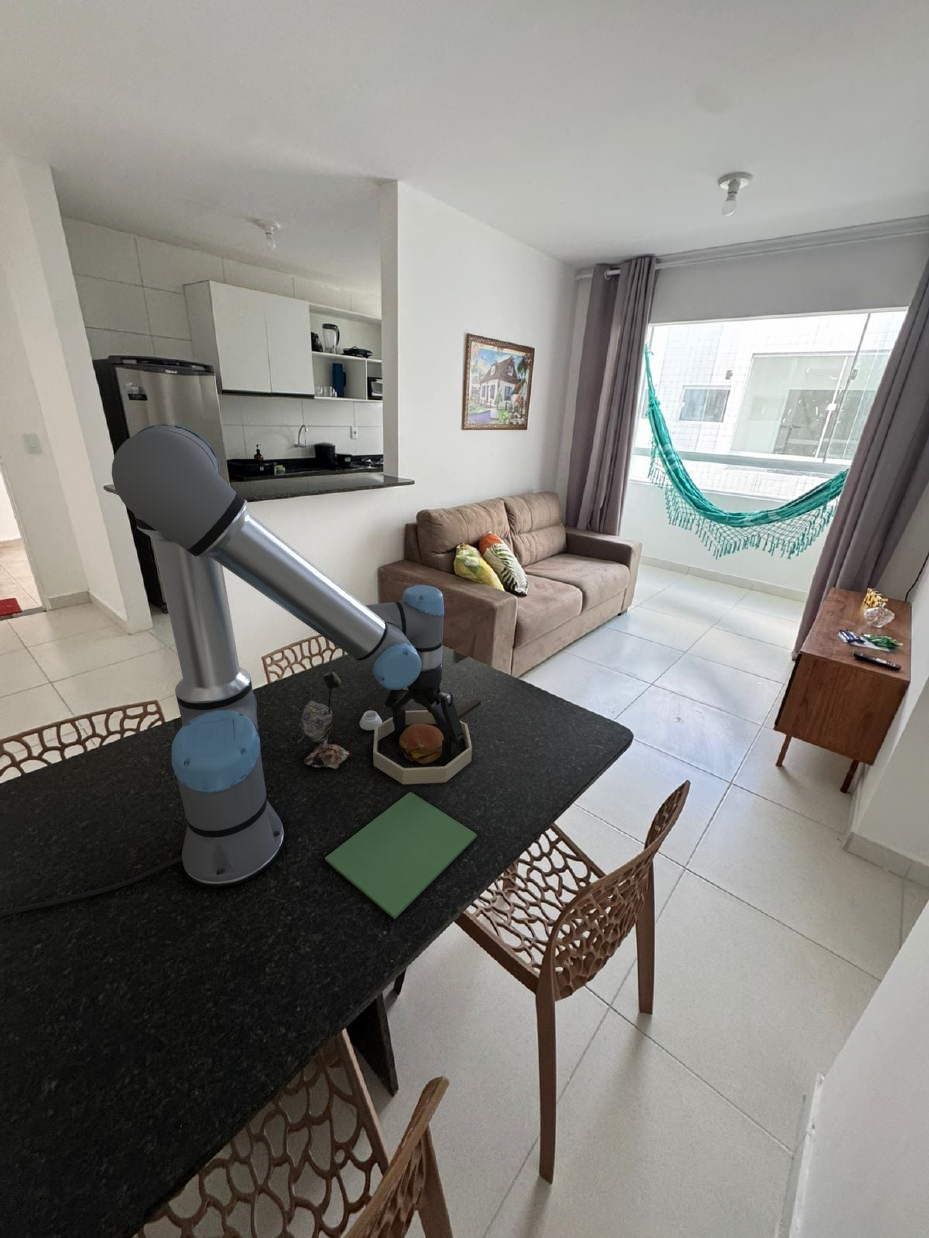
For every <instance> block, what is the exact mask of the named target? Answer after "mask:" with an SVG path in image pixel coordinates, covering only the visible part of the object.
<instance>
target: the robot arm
mask: <svg viewBox="0 0 929 1238" xmlns="http://www.w3.org/2000/svg"><path fill="white" fill-rule="evenodd" d="M111 478H112V483H113V486H114V487H113V488H114V490H115V492H116V493H117V495H118V497H119V498H120V500H121V502H122V503H123V505H125V507H127V509H128V510H129V511H130V512H132V513H133V514H134V519H135V523H136V528H137V529H138V530H139V531H141V532H142V533H144V534H145V535H147V536H149V537H150V538H151V539H152V543H153V548H154V549H153V550H154V553H155V558H156V562H157V566H158V572H159V575H160V581H161V584H162V589H163V593H164V598H165V603H166V607H167V612H168V616H169V622H170V625H171V630H172V635H173V639H174V643H175V649H176V652H177V658H178V663H179V667H180V671H181V674H182V678H181V679H180V680H179V681H178V682H177V684H176V685H175V687H174V693H175V697H176V701H177V706H178V709H179V716H180V719H181V728H180V729H179V730H178V731H177V733H176V734H175V736H174V738H173V740H172V744H171V766H172V769H173V772H174V774H175V777H176V781H177V786H178V790H179V793H180V797H181V802H182V806H183V811H184V814H185V819H186V822H187V826H186V831H185V835H184V841H183V845H182V850H181V855H180V856H177V857H175V858H172V859H170V860H168V861H166V862H164V863H161V864H159V865H157V866H155V867H152V868H151V869H148V870H146V871H145V872H142V873H141V874H138V875H135V876H133V877H130V878H128V879H125V880H123V881H119V882H116V883H113V884H111V885H107V886H104V887H100V888H96V889H92V890H88V891H84V892H81V893H76V894H73V895H68V896H65V897H60V898H59V897H58V898H56V899H51V900H46V901H40V902H36V903H31V904H26V905H22V906H16V907H13V908H9V909H5V910H1V911H0V918H5V917H8V916H12V915H15V914H20V913H24V912H28V911H29V912H30V911H33V910H39V909H44V908H49V907H53V906H59V905H63V904H66V903H70V902H75V901H78V900H83V899H87V898H91V897H94V896H98V895H101V894H105V893H108V892H111V891H114V890H115V891H116V890H117V889H118V890H119V889H121V888H124V887H127V886H130V885H132V884H135V883H137V882H139V881H142V880H144V879H146V878H148V877H150V876H152V875H154V874H156V873H158V872H161V871H163V870H165V869H168V868H169V867H171V866H174V865H176V864H178V863H181V862H182V866H183V870H184V874H185V875H186V876H187V878H188V879H189V880H190V881H191V882H192V883H194V884H196V885H197V886H200V887H202V888H206V889H226V888H232V887H236V886H239V885H242V884H244V883H247V882H249V881H252V880H254V879H255V878H256V877H258V876H259V875H261V874H262V873H264V872H265V871H266V870H268V869H269V868H270V867H271V866H272V865H273V864H274V862H275V861H276V860H277V858H279V856H280V854H281V852H282V849H283V846H284V842H285V832H284V826H283V823H282V820H281V818H280V817H279V815H278V813H277V812H276V811H275V809H274V807H273V806H272V805H271V803H270V801H269V800H268V796H267V789H266V782H265V776H264V769H263V762H262V755H261V754H262V753H261V740H260V739H261V738H260V734H259V733H260V732H259V726H258V725H259V724H258V716H257V712H258V703H257V698H256V695H255V694H254V688H253V683H252V677H251V674H250V673H249V671H248V670H247V669H245V668H243V667H241V666H240V663H239V657H238V651H237V646H236V645H237V644H236V639H235V634H234V627H233V622H232V615H231V610H230V603H229V597H228V591H227V585H226V580H225V579H226V578H225V574H224V568H225V569H226V570H228V571H229V572H231V573H232V574H234V576H237V577H238V578H240V579H241V580H242V581H243V582H245V583H246V584H248V585H249V586H251V587H252V588H254V589H255V590H256V591H257V592H259V593H260V594H262V595H264V597H267V598H268V599H269V600H270V601H272V602H273V603H275V604H276V605H278V606H279V607H281V608H282V609H283V610H284V611H286V612H288V614H291V616H293V617H295V619H297V620H299V621H300V622H302V623H303V624H305V625H306V626H307V627H310V628H311V629H312V630H313V631H315V632H316V633H318V634H319V635H320V636H322V637H323V638H325V639H326V640H328V641H329V642H331V644H333V645H335V646H336V647H337V648H339V649H340V650H342V651H343V652H344V653H346V654H347V655H349V656H350V657H352V658H353V659H355V660H356V661H357V662H358V663H359V664H361V665H362V666H364V667H366V668H367V669H368V670H369V671H371V672H372V675H373V678H374V679H375V680H376V681H377V682H378V684H380V685H381V686H382V687H383V688H385V689H387V690H390V692H389V694H388V696H387V698H386V699H385V702H384V706H385V707H386V708H389V709H390V711H391V713H392V715H391V717H393V723H394V731H393V732H394V733H393V734H394V740H395V741H399V739H400V736H401V734H402V733H403V732H404V730H405V729H406V728H407V725H406V721H405V711H406V709H404V707H406V705H407V704H409V703H410V702H411V701H412V700H413V702H414V703H416V704H418V705H419V704H420V705H421V706H422V707H424V708H426V710H428V712H429V713H431V714H432V715H433V717H434V719H435V721H436V723H437V724H436V725H437V726H438V729H439V730H440V731H441V733H442V734H443V738H444V739H443V740H442V754H441V765H440V767H444V766H446V765H447V764H448V763H450V762H451V761H452V760H454V758H453V757H454V752H456V748H457V746H456V745H457V744H458V743H459V742H460V741H461V740H464V737H465V735H464V732H463V729H462V726H461V723H460V721H461V719H459V718H458V715H457V709H456V705H455V704H454V703H455V702H454V694H453V693H452V692H451V691H448V692H447V693H445V692H442V690H441V683H442V681H443V664H442V663H443V641H444V640H443V636H444V617H445V616H444V615H445V607H444V606H445V605H444V603H445V602H444V595H443V592H442V591H441V590H440V589H439V588H437V587H435V586H432V585H426V584H419V585H418V584H417V585H413V586H412V587H411V586H410V587H407V588H406V589H405V590H404V592H403V596H402V599H401V600H397V601H392V602H383V603H382V602H381V603H372V604H364V603H363V602H362V601H360V600H359V599H358V598H356V597H355V596H354V595H353V594H351V593H350V592H349V591H348V590H346V589H345V588H344V587H343V586H342V585H340V584H339V583H337V582H336V581H335V580H334V579H333V578H331V577H330V576H329V575H328V574H326V573H325V572H324V571H323V570H321V569H320V567H317V566H316V565H315V564H314V563H312V562H311V561H310V560H309V559H307V557H305V556H304V555H302V554H301V553H300V552H299V551H297V549H295V548H294V547H292V546H291V545H290V544H289V543H288V542H287V541H285V540H284V539H283V538H282V537H280V536H279V535H277V534H276V533H275V532H274V531H273V530H271V529H270V528H269V527H268V526H266V525H265V524H264V523H263V522H261V521H260V520H259V519H257V518H256V516H254V515H253V514H251V512H250V511H249V505H248V500H247V499H245V498H244V497H243V496H241V494H239V493H238V492H237V491H235V489H233V488H232V487H231V486H230V485H229V484H228V483H227V482H226V481H225V480H224V478H223V477H222V476H221V467H220V461H219V458H218V457H217V455H216V452H215V450H214V449H213V447H212V446H211V445H210V444H209V442H208V441H206V440H205V439H204V438H203V437H202V436H201V435H200V434H198V433H197V432H195V431H193V430H191V429H189V428H187V427H184V426H180V425H178V424H177V425H175V424H167V423H161V424H152V425H149V426H146V427H143V428H142V429H140V430H139V431H137V432H136V433H135V434H134V435H132V436H130V437H128V439H126V440H125V441H123V443H121V445H120V446H119V448H118V449H117V451H116V453H115V454H114V457H113V460H112V463H111ZM406 687H407V688H408V690H409V691H408V692H406V693H405V694H404V695H403V696H402V698H401V699H400V700H399V698H400V696H401V694H402V693H403V691H404V690H403V688H406ZM398 700H399V701H398ZM434 704H435V705H434ZM432 705H433V706H432Z"/></svg>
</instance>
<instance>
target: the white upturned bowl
mask: <svg viewBox="0 0 929 1238" xmlns="http://www.w3.org/2000/svg"><path fill="white" fill-rule="evenodd" d="M381 723H383V720H382V718H381V717H380V715H379V714H378V712H377V711H375V710H366V711H365V712H364V713H363V715H362V717H361V719H360V720H359V727H360V728H361V729H362V730H365V731H375V727H376V726H378V725H380V724H381Z"/></svg>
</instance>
